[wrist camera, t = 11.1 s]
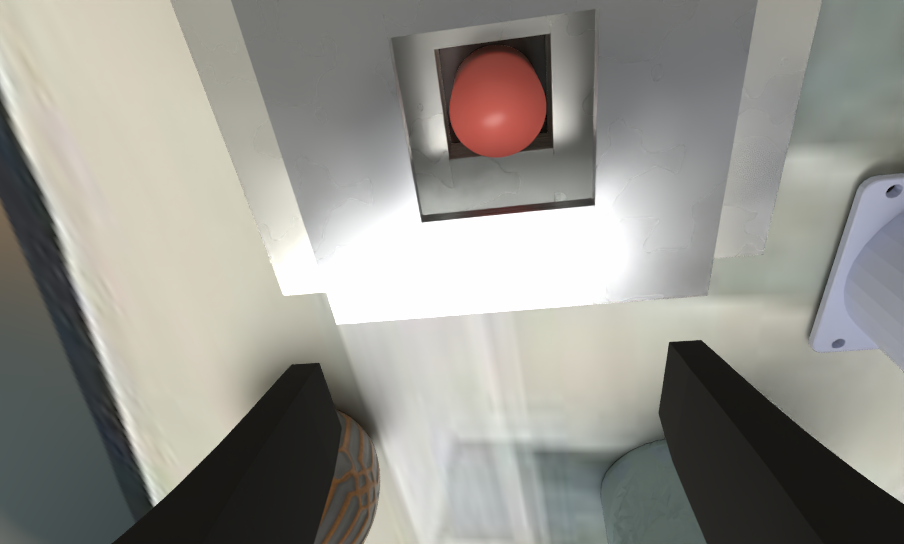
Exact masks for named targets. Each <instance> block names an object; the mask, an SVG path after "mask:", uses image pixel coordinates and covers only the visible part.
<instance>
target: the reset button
mask: <svg viewBox="0 0 904 544" xmlns="http://www.w3.org/2000/svg"><path fill="white" fill-rule="evenodd" d="M449 113H450V121H451V125H452V127H453V130H454V132H455V134H456V136H457V137H458V139H459V140H460V141H461V142H462V143H463V144H464V145H465V146H466V147H467V148H468V149H470V150H471V151H473V152H475V153H477V154H479V155H482V156H486V157H494V158H497V157H506V156H510V155H513V154H515V153H518V152H520V151H521V150H523V149H524V148H526V147H527V146H528V145H529V144H530V143H531V142H532V141H533V140H534V139H535V138H536V137H537V135H538V134H539V132H540V130H541V128H542V126H543V123H544V120H545V116H546V98H545V93H544V90H543V88H542V85H541V83H540V81H539V79H538V76H537V74H536V72H535V70H534V68H533V66H532V64H531V63H530V61H529V60H528V59H527V58H526V57H525V56H524V55H523V54H522V53H521V52H520V51H518V50H516V49H514V48H512V47H509V46H505V45H489V46H485V47H482V48H479V49H477V50H475V51H474V52H472V53H471V54H470V55H469V56H468V57H466V58H465V60H464V61H463V62H462V63H461V65H460V67H459V68H458V70H457V72H456V75H455V78H454V83H453V89H452V94H451V100H450V108H449Z"/></svg>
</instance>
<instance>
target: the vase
mask: <svg viewBox="0 0 904 544" xmlns="http://www.w3.org/2000/svg"><path fill="white" fill-rule="evenodd" d="M336 412H337V415H338V418H339V421H340V424H341V426H342V431H341V437H340V444H339V450H338V456H337V462H336V467H335V473H334V477H333V480H332V484H331V487H330V491H329V494H328V498H327V501H326V505H325V508H324V512H323V515H322V518H321V522H320V525H319V528H318V532H317V535H316V538H315V542H314V544H364V542H365V540H366V538H367V536H368V534H369V531H370V529H371V526H372V524H373V521H374V518H375V514H376V510H377V505H378V499H379V490H380V469H379V463H378V457H377V454H376V451H375V447H374V445H373V443H372V441H371V439H370V438H369V436H368V435H367V433H366V432H365V430H364V429H363V428H362V427H361V426H360V425H359V424H358V423H357V422H356V421H355V420H353V419H352V418H351V417H350V416H348V415H346V414H345V413H343V412H340V411H338V410H336Z"/></svg>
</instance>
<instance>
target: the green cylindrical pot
mask: <svg viewBox="0 0 904 544" xmlns="http://www.w3.org/2000/svg"><path fill="white" fill-rule="evenodd" d="M601 502H602V509H603V515H604V521H605V527H606V534H607V540H608V544H707V543H706V541H705V538H704V536H703V534H702V531H701V529H700V527H699V524H698V522H697V519H696V517H695V515H694V512H693V510H692V508H691V505H690V503H689V501H688V498H687V496H686V493H685V491H684V489H683V486H682V484H681V481H680V479H679V476H678V474H677V472H676V469H675V467H674V464H673V462H672V459H671V455H670V452H669V448H668V445H667V442H666V439H664V440H660V441H654V442H653V443H648V444H645V445H643V446H640V447H638V448H636V449H634V450H632V451H630V452H628V453H627V454H625V455H624V456H622V457H621V458H620V459H619V460H618V461H616V462H615V463H614V464H613V465H612V466H611V467H610V469H609V470H608V471H607V473H606V474H605V477H604V479H603V482H602V487H601Z"/></svg>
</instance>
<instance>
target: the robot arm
mask: <svg viewBox="0 0 904 544" xmlns="http://www.w3.org/2000/svg"><path fill="white" fill-rule="evenodd" d="M893 185H895V186H894V188H893V189H892V190H891V191H890V192H888V193H886V191H887V190H888V188H890V187H891V186H893ZM837 339H838V340H837ZM835 340H836V341H835ZM809 345H810V346H811V347H812V348H813V350H814V351H816V352H838V351H853V350H868V349H881V350H882V351H883V352H884V353H885V354H886V355H887V356H888V357H889V358H890V359H891V360H892V361H893V362H894V363H895V364H896V365H897V366H898V367H899V368H900V369H901V370H902V371H903V372H904V173H898V174H888V175H878V176H873V177H870V178H868V179H866V180H865V181H864V182H863V183H862V184H861V185H860V186H859V188H858V189H857V192H856V195H855V198H854V201H853V204H852V207H851V211H850V214H849V217H848V220H847V223H846V226H845V229H844V232H843V235H842V238H841V242H840V245H839V248H838V251H837V254H836V257H835V260H834V263H833V266H832V269H831V273H830V276H829V279H828V282H827V285H826V288H825V291H824V294H823V297H822V300H821V303H820V307H819V310H818V313H817V316H816V319H815V322H814V325H813V328H812V331H811V334H810V338H809ZM659 416H660V420H661V424H662V427H663V431H664V435H665V438H666V442H667V445H668V448H669V452H670V455H671V459H672V462H673V464H674V467H675V469H676V472H677V474H678V476H679V479H680V481H681V484H682V486H683V489H684V491H685V493H686V496H687V498H688V501H689V503H690V505H691V508H692V510H693V512H694V515H695V517H696V519H697V522H698V524H699V527H700V529H701V531H702V534H703V536H704V538H705V541H706V543H707V544H904V504H903V503H901V502H900V501H898V500H897V499H896V498H894V497H893V496H891V495H890V494H888V493H887V492H885V491H884V490H882V489H881V488H879V487H878V486H877V485H875V484H874V483H873V482H871V481H870V480H868V479H867V478H866V477H864V476H863V475H861V474H860V473H859V472H857V471H856V470H855V469H853V468H852V467H851V466H849V465H848V464H847V463H846V462H844V461H843V460H842V459H840V458H839V457H838V456H836V455H835V454H834V453H833V452H831V451H830V450H829V449H827V448H826V447H825V446H823V445H822V444H821V443H819V442H818V441H817V440H816V439H814V438H813V437H812V436H811V435H810V434H808V433H807V432H806V431H805V430H803V429H802V428H801V427H800V426H799V425H797V424H796V423H795V422H794V421H793V420H791V419H790V418H789V417H788V416H787V415H785V414H784V413H783V412H782V411H781V410H780V409H778V408H777V407H776V406H775V405H774V404H772V403H771V402H770V401H769V400H768V399H767V398H765V397H764V396H763V395H762V394H761V393H760V392H759V391H757V390H756V389H755V388H754V387H753V386H752V385H751V384H750V383H748V382H747V381H746V380H745V379H744V378H743V377H742V376H741V375H740V374H738V373H737V372H736V371H735V370H734V369H733V368H732V367H731V366H730V365H728V364H727V363H726V362H725V361H724V360H723V359H722V358H721V357H720V356H718V355H717V354H716V353H715V352H714V351H713V350H712V349H711V348H710V347H708V346H707V345H706V344H705V343H704V342H703V341H702V340H696V341H679V342H669V347H668V354H667V361H666V367H665V374H664V381H663V387H662V394H661V401H660V407H659ZM341 431H342V426H341V424H340V421H339V418H338V415H337V412H336V409H335V406H334V404H333V401H332V398H331V395H330V392H329V389H328V386H327V384H326V381H325V378H324V375H323V372H322V369H321V366H320V363H310V364H293V365H291V366H290V367H289V368H288V369H287V370H286V371H285V373H284V374H283V375H282V376H281V377H280V378H279V379H278V380H277V381H276V382H275V384H274V385H273V386H272V387H271V388H270V389H269V390H268V391H267V392H266V394H265V395H264V396H263V397H262V398H261V399H260V400H259V401H258V402H257V404H256V405H255V406H254V407H253V408H252V409H251V410H250V411H249V412H248V414H247V415H246V416H245V417H244V418H243V419H242V420H241V421H240V422H239V423H238V424H237V425H236V426H235V428H234V429H233V430H232V431H231V432H230V433H229V434H228V435H227V436H226V437H225V438H224V439H223V440H222V442H221V443H220V444H219V445H218V446H217V447H216V448H215V449H214V450H213V451H212V452H211V453H210V454H209V455H208V456H207V457H206V458H205V459H204V460H203V461H202V462H201V463H200V464H199V465H198V466H197V467H196V468H195V469H194V470H193V471H192V472H191V473H190V474H189V475H188V476H187V477H186V478H185V479H184V480H183V481H182V482H181V483H180V484H179V485H178V486H177V487H175V488H174V489H173V490H172V491H171V492H170V493H169V494H168V495H167V496H166V497H165V498H164V499H163V500H161V501H160V502H159V503H158V504H157V505H156V506H155V507H154V508H153V509H152V510H150V511H149V512H148V513H147V514H146V515H145V516H144V517H142V518H141V519H140V520H139V521H138V522H137V523H135V524H134V525H133V526H132V527H131V528H130V529H129V530H127V531H126V532H125V533H124V534H123V535H122V536H120V537H119V538H118V539H117V540H116V541H114V542H113V543H112V544H314V542H315V538H316V535H317V532H318V528H319V525H320V522H321V518H322V515H323V512H324V508H325V505H326V501H327V498H328V494H329V491H330V487H331V484H332V480H333V477H334V473H335V467H336V462H337V456H338V450H339V444H340V437H341Z"/></svg>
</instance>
